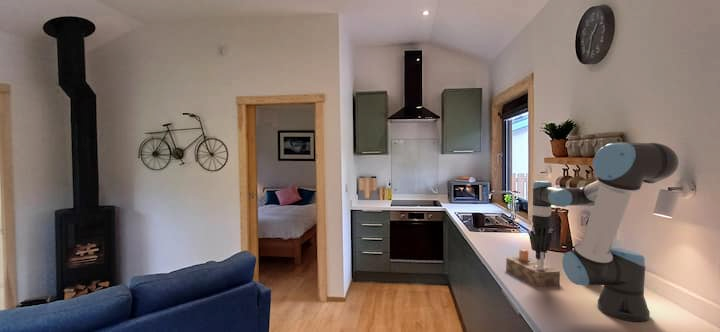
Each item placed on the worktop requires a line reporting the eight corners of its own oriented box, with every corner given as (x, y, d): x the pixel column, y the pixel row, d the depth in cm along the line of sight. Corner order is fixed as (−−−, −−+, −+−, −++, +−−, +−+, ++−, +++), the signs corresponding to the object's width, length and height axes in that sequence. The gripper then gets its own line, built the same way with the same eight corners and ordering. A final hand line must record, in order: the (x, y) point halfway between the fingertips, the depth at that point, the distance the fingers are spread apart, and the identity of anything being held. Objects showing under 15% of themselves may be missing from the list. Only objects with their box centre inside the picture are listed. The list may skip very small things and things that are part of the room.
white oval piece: (546, 280, 152) (547, 267, 152) (539, 281, 151) (539, 268, 151) (540, 277, 156) (540, 264, 156) (533, 278, 155) (533, 265, 155)
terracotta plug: (529, 263, 163) (530, 251, 162) (522, 264, 162) (523, 251, 162) (524, 261, 167) (524, 249, 166) (517, 261, 166) (517, 249, 165)
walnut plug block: (559, 284, 149) (559, 271, 149) (538, 286, 147) (538, 273, 147) (525, 268, 171) (525, 256, 171) (506, 269, 169) (506, 257, 168)
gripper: (547, 212, 158) (546, 262, 159) (523, 213, 155) (522, 264, 156) (560, 215, 150) (558, 267, 151) (535, 216, 147) (533, 269, 148)
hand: (540, 265), depth 153 cm, fingers closed
